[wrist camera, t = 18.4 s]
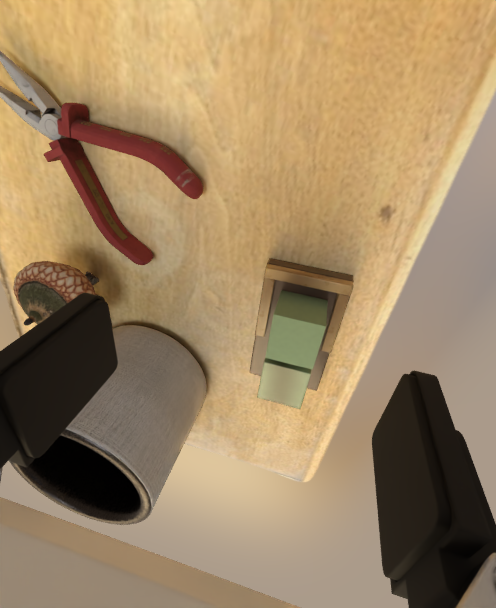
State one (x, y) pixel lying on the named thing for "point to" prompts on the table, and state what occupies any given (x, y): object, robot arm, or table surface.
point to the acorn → (49, 288)
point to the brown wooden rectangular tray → (278, 276)
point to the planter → (125, 432)
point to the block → (297, 329)
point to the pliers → (66, 132)
